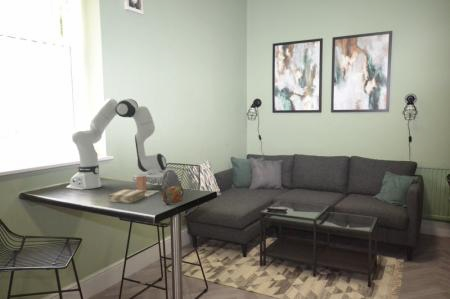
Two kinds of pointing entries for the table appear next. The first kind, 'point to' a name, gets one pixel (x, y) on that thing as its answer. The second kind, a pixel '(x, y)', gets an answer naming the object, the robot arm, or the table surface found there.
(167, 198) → the tin
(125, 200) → the deck
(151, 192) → the mat
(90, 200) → the table surface
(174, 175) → the decorative rock
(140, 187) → the block
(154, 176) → the robot arm
